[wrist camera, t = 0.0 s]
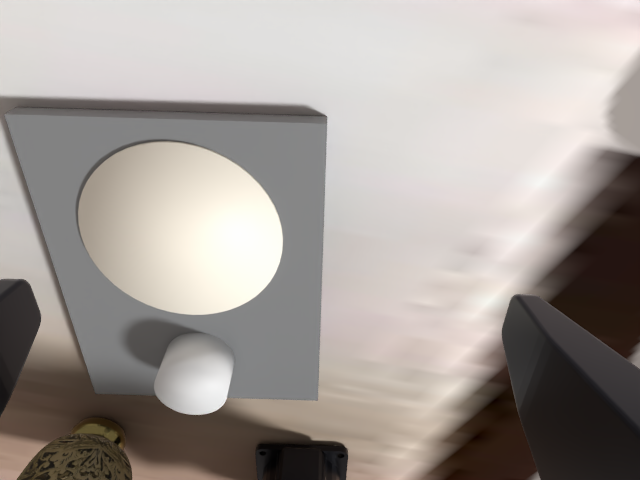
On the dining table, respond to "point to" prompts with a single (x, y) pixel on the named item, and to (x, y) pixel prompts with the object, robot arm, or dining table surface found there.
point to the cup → (83, 454)
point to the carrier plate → (184, 247)
